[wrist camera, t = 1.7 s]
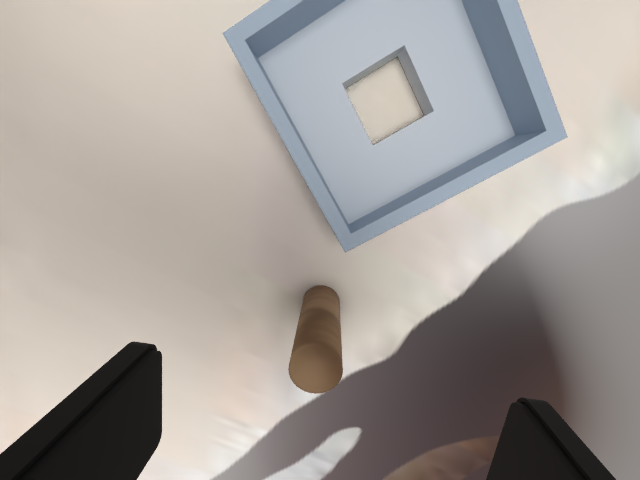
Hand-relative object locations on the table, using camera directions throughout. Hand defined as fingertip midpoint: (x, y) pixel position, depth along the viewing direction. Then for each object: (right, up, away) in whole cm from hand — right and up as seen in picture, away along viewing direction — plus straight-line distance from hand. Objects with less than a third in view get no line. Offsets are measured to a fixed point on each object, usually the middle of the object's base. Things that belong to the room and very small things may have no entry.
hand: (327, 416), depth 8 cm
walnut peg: (0, -1, +22) cm, 22 cm away
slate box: (+5, +16, +17) cm, 24 cm away
